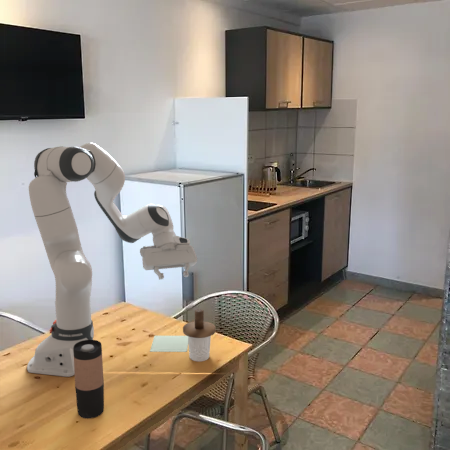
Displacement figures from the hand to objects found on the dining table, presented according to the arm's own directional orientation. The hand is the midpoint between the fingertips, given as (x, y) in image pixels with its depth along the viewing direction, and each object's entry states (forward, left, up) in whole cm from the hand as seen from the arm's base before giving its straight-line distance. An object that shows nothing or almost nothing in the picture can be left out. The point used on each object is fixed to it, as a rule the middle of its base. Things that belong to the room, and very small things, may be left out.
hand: (174, 277), depth 181 cm
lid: (+10, -14, -14) cm, 22 cm away
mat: (-1, -4, -24) cm, 25 cm away
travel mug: (-19, -46, -24) cm, 56 cm away
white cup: (+10, -14, -24) cm, 30 cm away
